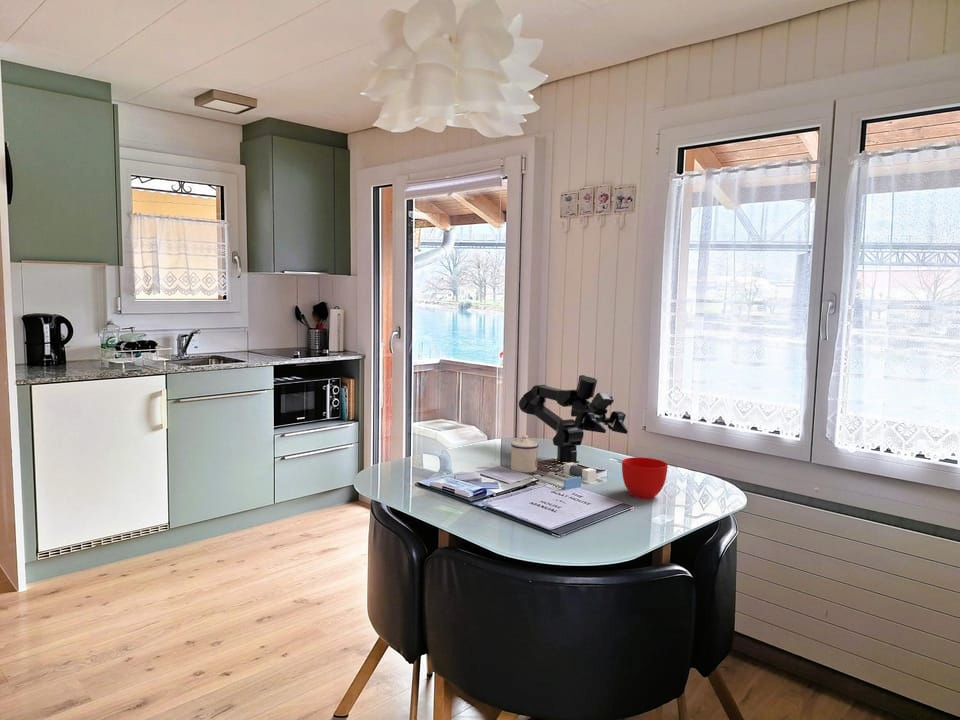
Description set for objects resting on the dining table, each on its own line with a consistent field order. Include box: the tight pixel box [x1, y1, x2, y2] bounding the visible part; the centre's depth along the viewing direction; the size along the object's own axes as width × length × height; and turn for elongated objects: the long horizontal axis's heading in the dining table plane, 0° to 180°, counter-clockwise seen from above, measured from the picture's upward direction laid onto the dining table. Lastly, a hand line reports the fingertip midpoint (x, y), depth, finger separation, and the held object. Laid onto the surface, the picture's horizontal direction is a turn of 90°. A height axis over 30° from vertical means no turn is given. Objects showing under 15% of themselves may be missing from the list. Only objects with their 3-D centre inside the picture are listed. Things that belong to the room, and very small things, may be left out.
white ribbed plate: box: [532, 471, 609, 492], centre depth 213 cm, size 15×22×3 cm
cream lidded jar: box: [510, 434, 539, 473], centre depth 226 cm, size 12×9×12 cm
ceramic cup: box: [621, 456, 668, 500], centre depth 201 cm, size 13×17×10 cm
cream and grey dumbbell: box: [563, 462, 597, 482], centre depth 216 cm, size 11×4×4 cm, turn 35°
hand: (616, 432), depth 214 cm, fingers open, 9 cm apart
